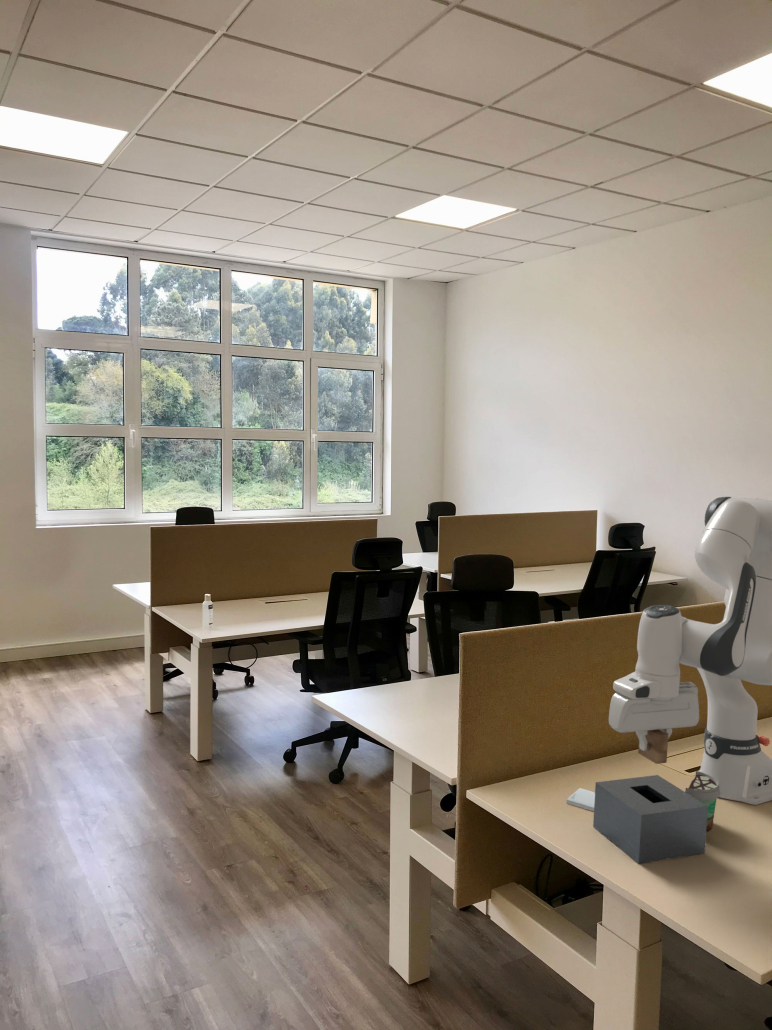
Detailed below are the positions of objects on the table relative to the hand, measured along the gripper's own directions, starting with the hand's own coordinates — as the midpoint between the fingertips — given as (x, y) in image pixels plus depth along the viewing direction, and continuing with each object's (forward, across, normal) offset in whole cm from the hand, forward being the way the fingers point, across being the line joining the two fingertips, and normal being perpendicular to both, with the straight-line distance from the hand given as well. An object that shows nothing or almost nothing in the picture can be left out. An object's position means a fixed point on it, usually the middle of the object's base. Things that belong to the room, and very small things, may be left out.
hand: (652, 748), depth 165 cm
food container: (+20, -16, -2) cm, 26 cm away
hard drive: (+20, 0, -17) cm, 27 cm away
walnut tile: (+2, 0, 0) cm, 2 cm away
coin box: (+20, 0, 0) cm, 20 cm away
